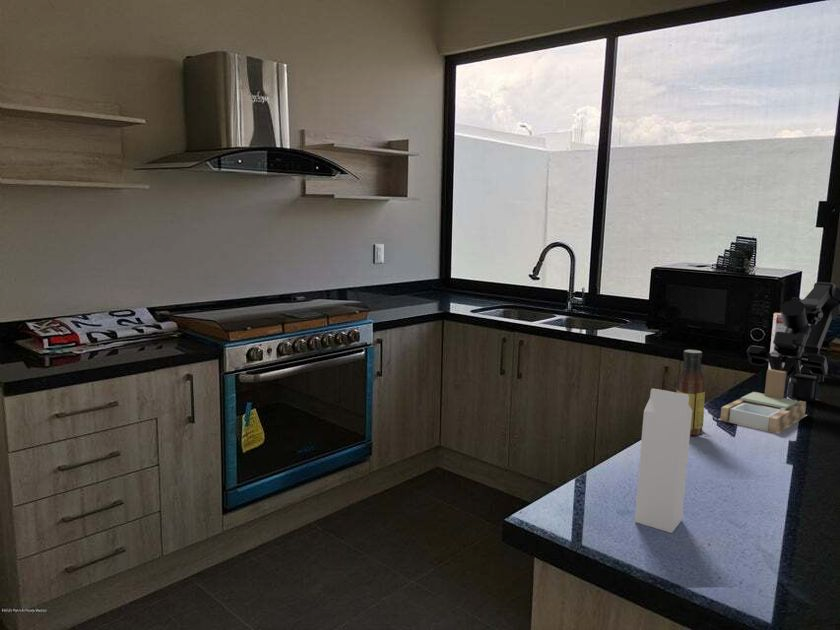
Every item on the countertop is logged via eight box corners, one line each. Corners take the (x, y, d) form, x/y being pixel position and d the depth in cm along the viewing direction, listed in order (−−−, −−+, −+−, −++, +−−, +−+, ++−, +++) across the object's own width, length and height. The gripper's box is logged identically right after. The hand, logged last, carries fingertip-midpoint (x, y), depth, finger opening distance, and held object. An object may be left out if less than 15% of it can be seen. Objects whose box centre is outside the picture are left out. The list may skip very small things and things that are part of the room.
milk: (645, 510, 109) (656, 384, 106) (682, 520, 105) (694, 391, 102) (634, 522, 104) (644, 391, 101) (672, 534, 100) (684, 398, 97)
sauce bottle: (697, 429, 155) (704, 349, 152) (706, 437, 148) (714, 354, 146) (669, 427, 155) (676, 347, 152) (677, 435, 149) (684, 352, 146)
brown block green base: (753, 394, 172) (756, 366, 171) (797, 402, 165) (800, 374, 164) (740, 399, 166) (743, 371, 165) (786, 409, 159) (789, 379, 157)
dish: (742, 414, 166) (743, 402, 165) (780, 422, 159) (781, 410, 159) (729, 421, 159) (730, 408, 159) (768, 430, 153) (769, 417, 153)
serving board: (750, 406, 177) (752, 391, 177) (807, 417, 167) (809, 402, 167) (717, 422, 161) (718, 406, 160) (777, 436, 151) (779, 419, 150)
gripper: (752, 316, 176) (733, 360, 170) (830, 325, 163) (812, 373, 157) (759, 341, 183) (741, 384, 177) (834, 352, 170) (818, 399, 163)
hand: (776, 384), depth 168 cm, fingers closed, pressing on brown block green base
